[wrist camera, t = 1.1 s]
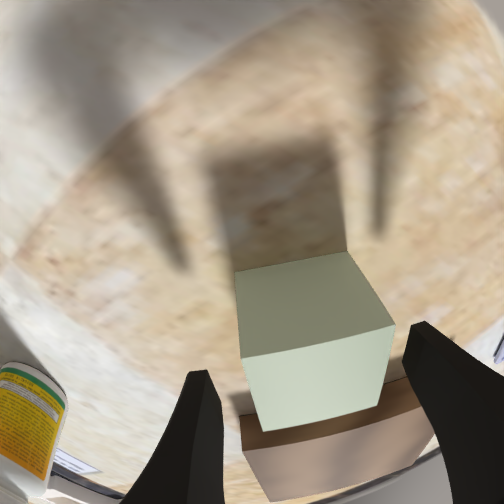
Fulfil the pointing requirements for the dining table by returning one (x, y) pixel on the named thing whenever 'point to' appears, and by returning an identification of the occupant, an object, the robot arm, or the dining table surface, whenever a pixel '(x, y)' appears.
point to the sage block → (311, 339)
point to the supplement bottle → (28, 431)
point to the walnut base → (338, 446)
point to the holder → (73, 493)
